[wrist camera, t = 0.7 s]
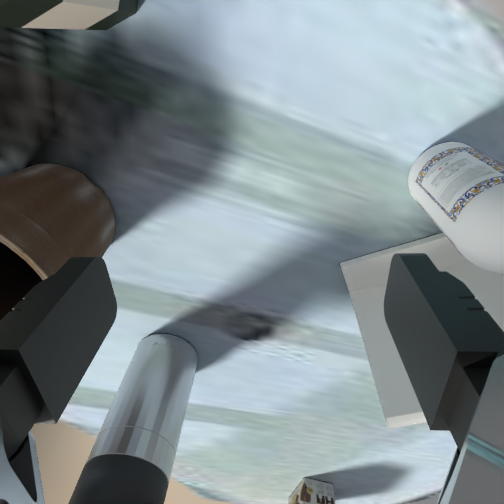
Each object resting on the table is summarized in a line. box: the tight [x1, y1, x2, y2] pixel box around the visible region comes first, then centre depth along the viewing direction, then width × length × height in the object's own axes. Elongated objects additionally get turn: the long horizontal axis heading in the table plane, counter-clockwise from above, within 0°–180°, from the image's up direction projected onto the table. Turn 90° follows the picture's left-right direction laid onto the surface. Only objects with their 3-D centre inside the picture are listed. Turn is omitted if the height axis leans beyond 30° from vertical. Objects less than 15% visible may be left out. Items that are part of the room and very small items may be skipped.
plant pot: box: [0, 163, 116, 321], centre depth 35 cm, size 16×16×16 cm
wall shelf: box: [340, 233, 504, 428], centre depth 36 cm, size 12×20×18 cm, turn 112°
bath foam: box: [408, 142, 504, 275], centre depth 28 cm, size 7×7×20 cm
